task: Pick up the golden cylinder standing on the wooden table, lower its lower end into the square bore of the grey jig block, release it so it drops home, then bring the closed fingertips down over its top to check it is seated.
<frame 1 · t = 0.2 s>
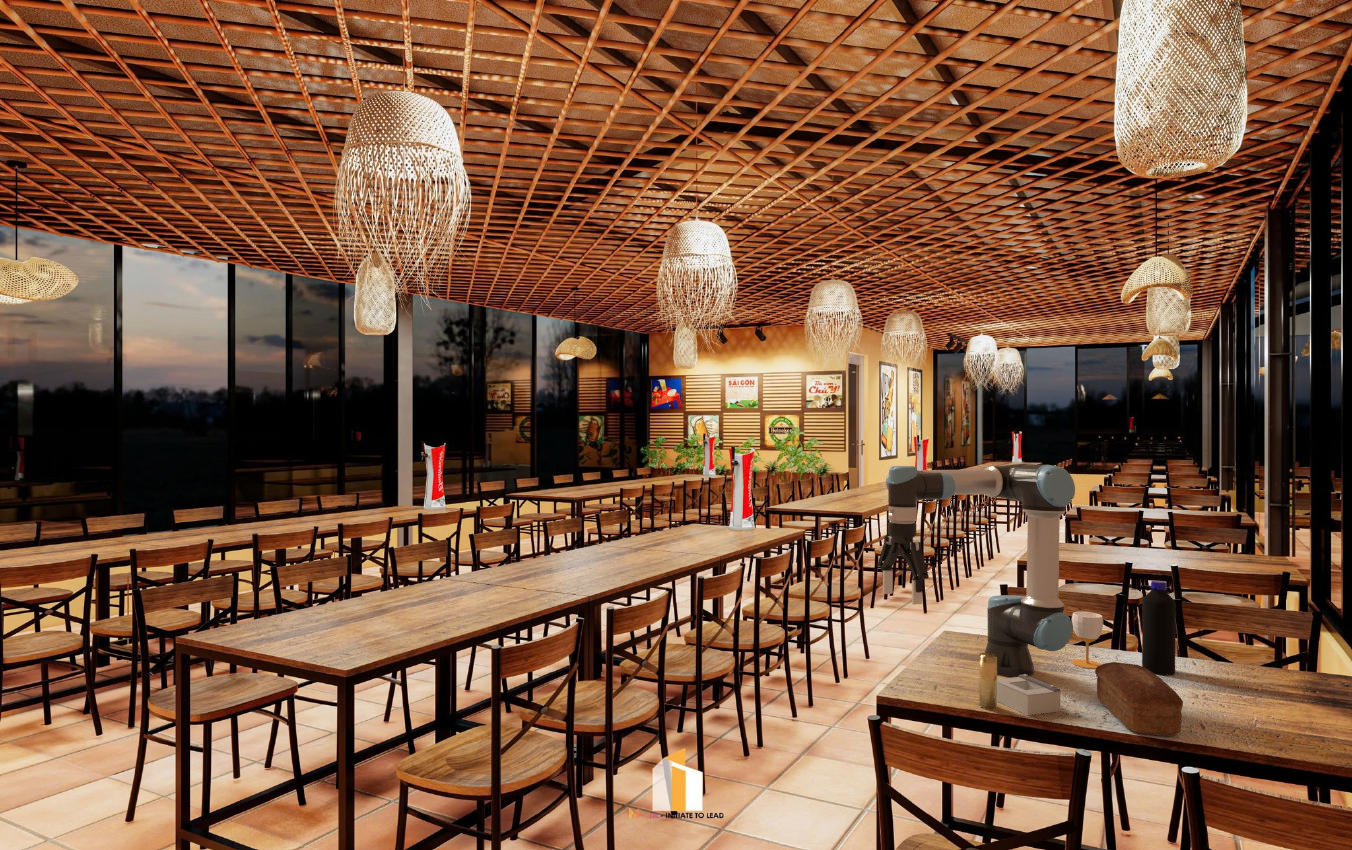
hand: (901, 598, 213), 28 cm above the table, fingers open, 13 cm apart
cup: (1087, 665, 248), on the table
golden cylinder: (987, 707, 209), on the table
bottle: (1158, 671, 242), on the table
bread: (1136, 719, 202), on the table
jig: (1026, 705, 210), on the table
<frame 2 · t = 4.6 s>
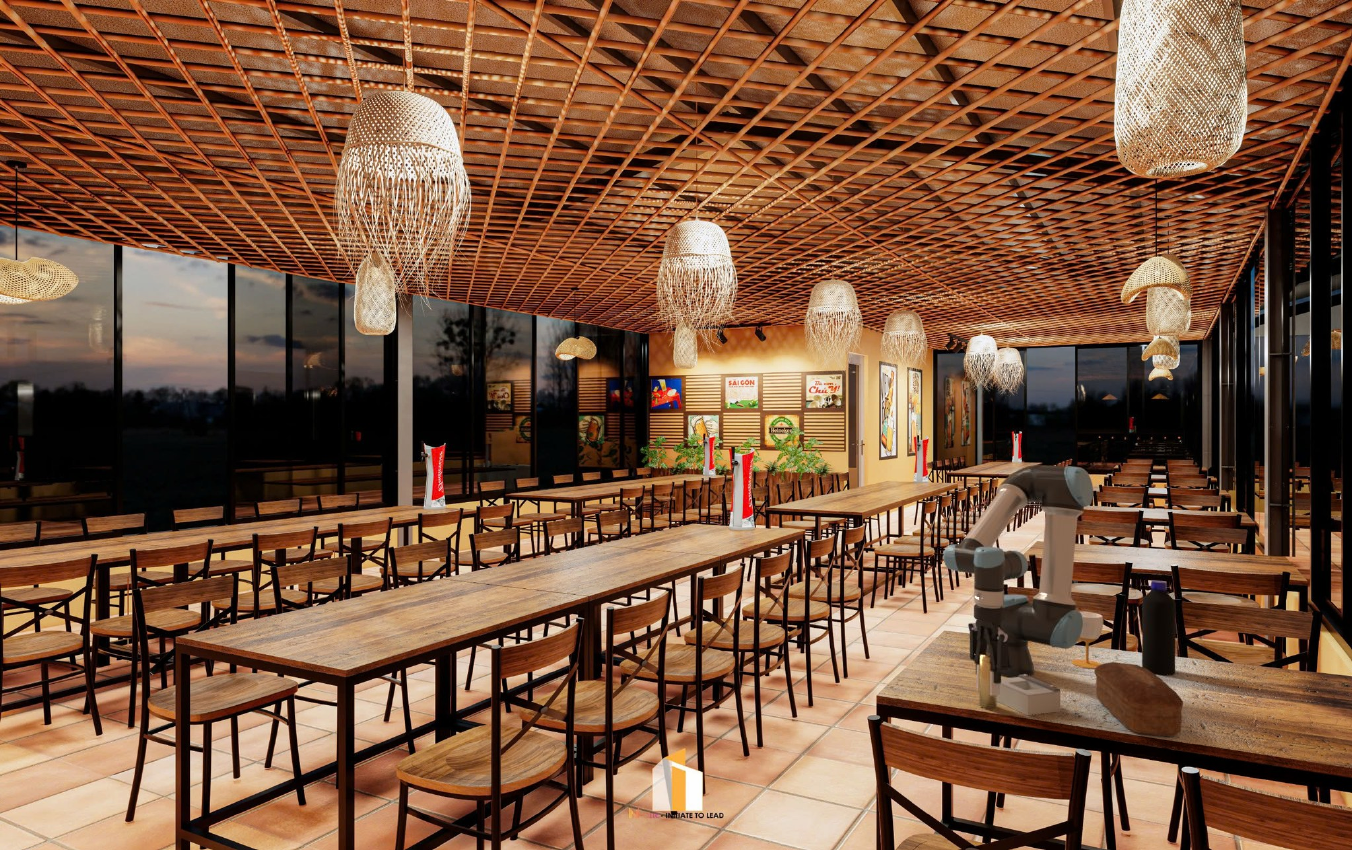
hand: (988, 691, 209), 4 cm above the table, fingers closed on golden cylinder, 4 cm apart
golden cylinder: (987, 707, 209), on the table, touching gripper
everything else where it was.
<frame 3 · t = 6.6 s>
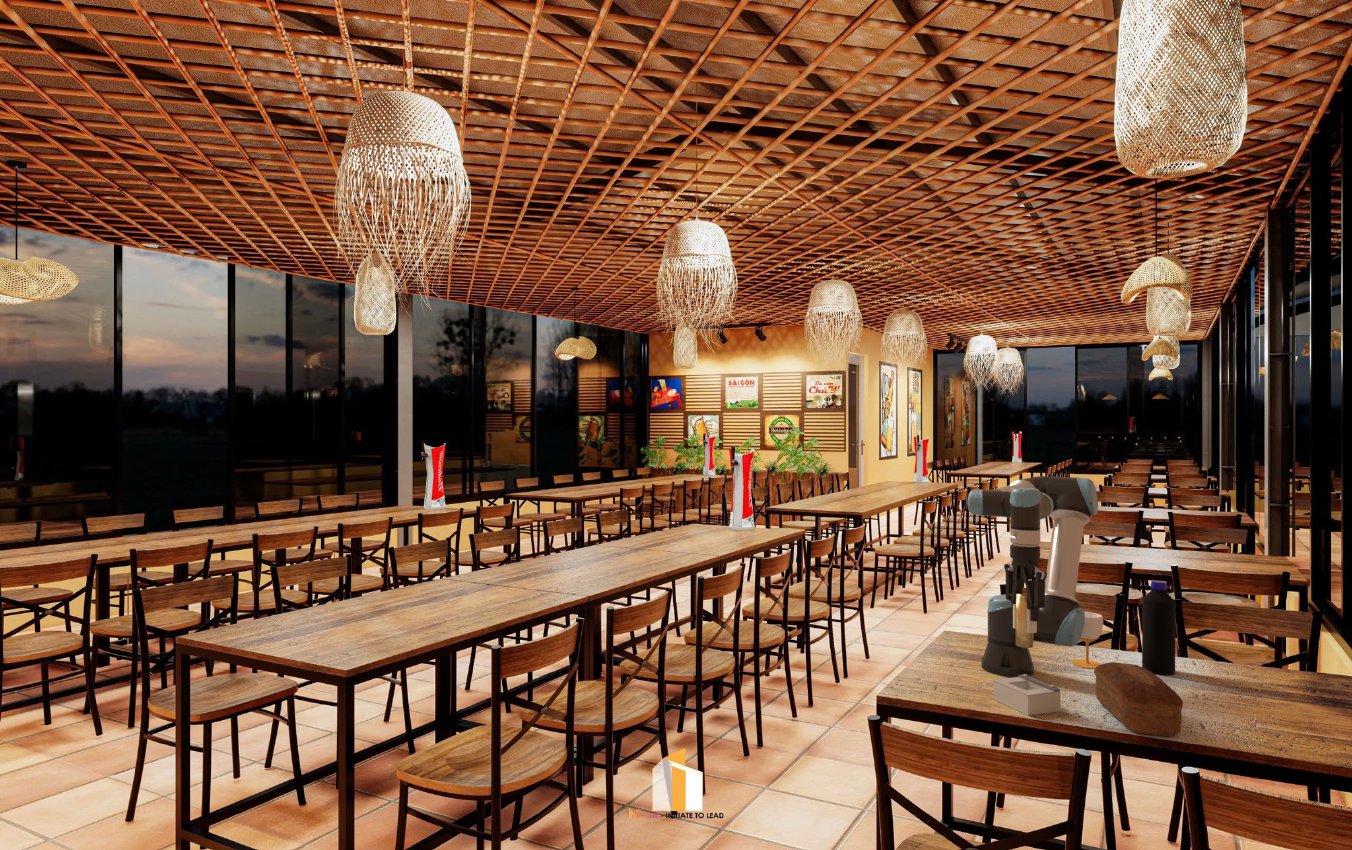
hand: (1024, 630, 211), 20 cm above the table, fingers closed on golden cylinder, 4 cm apart
golden cylinder: (1024, 645, 211), point 16 cm above the table, touching gripper
everything else where it was.
when the fingers open (7 cm above the table, at t = 8.9 s): golden cylinder drops 2 cm, resting in jig.
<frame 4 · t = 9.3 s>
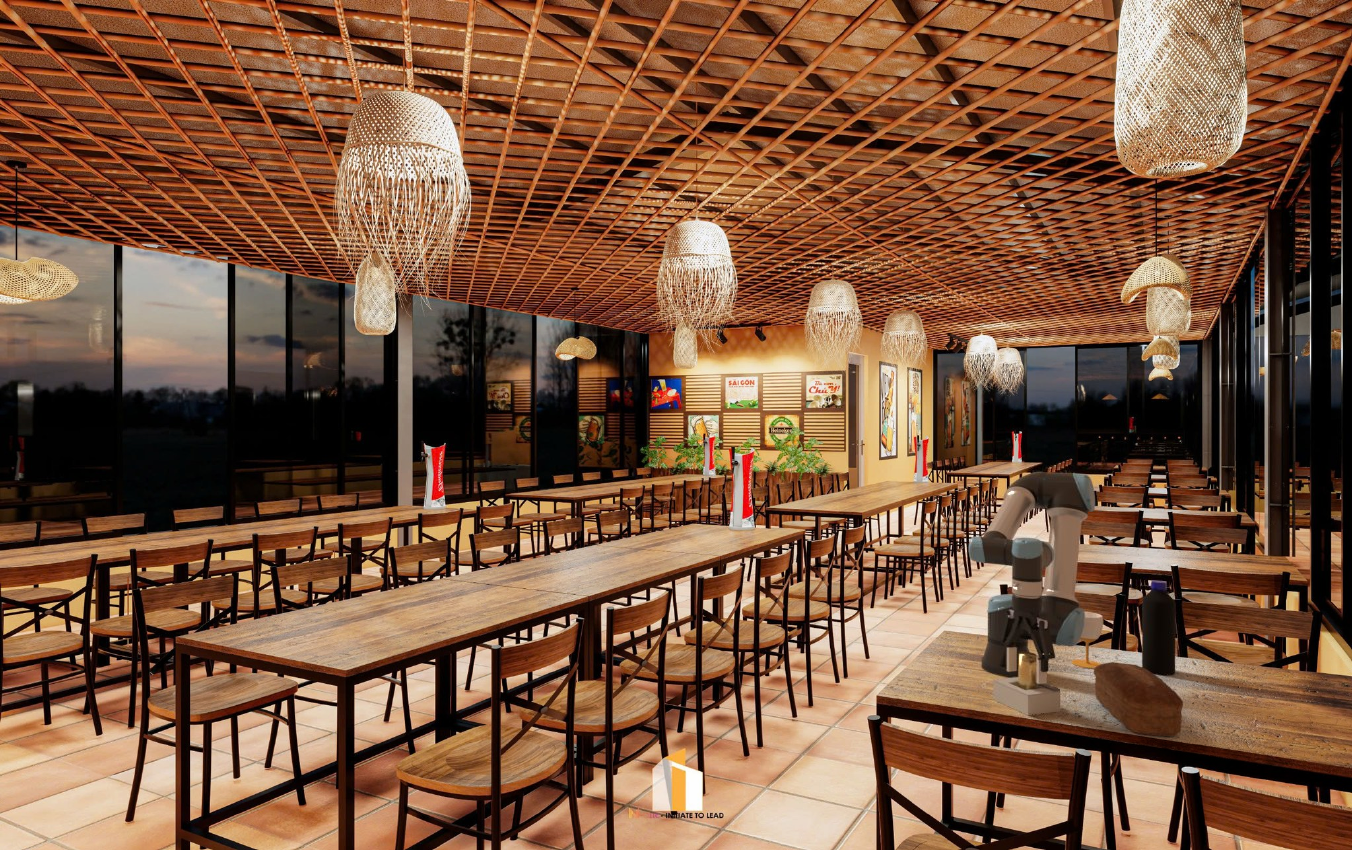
hand: (1026, 677, 210), 8 cm above the table, fingers open, 10 cm apart
golden cylinder: (1026, 705, 210), resting in jig
everything else where it was.
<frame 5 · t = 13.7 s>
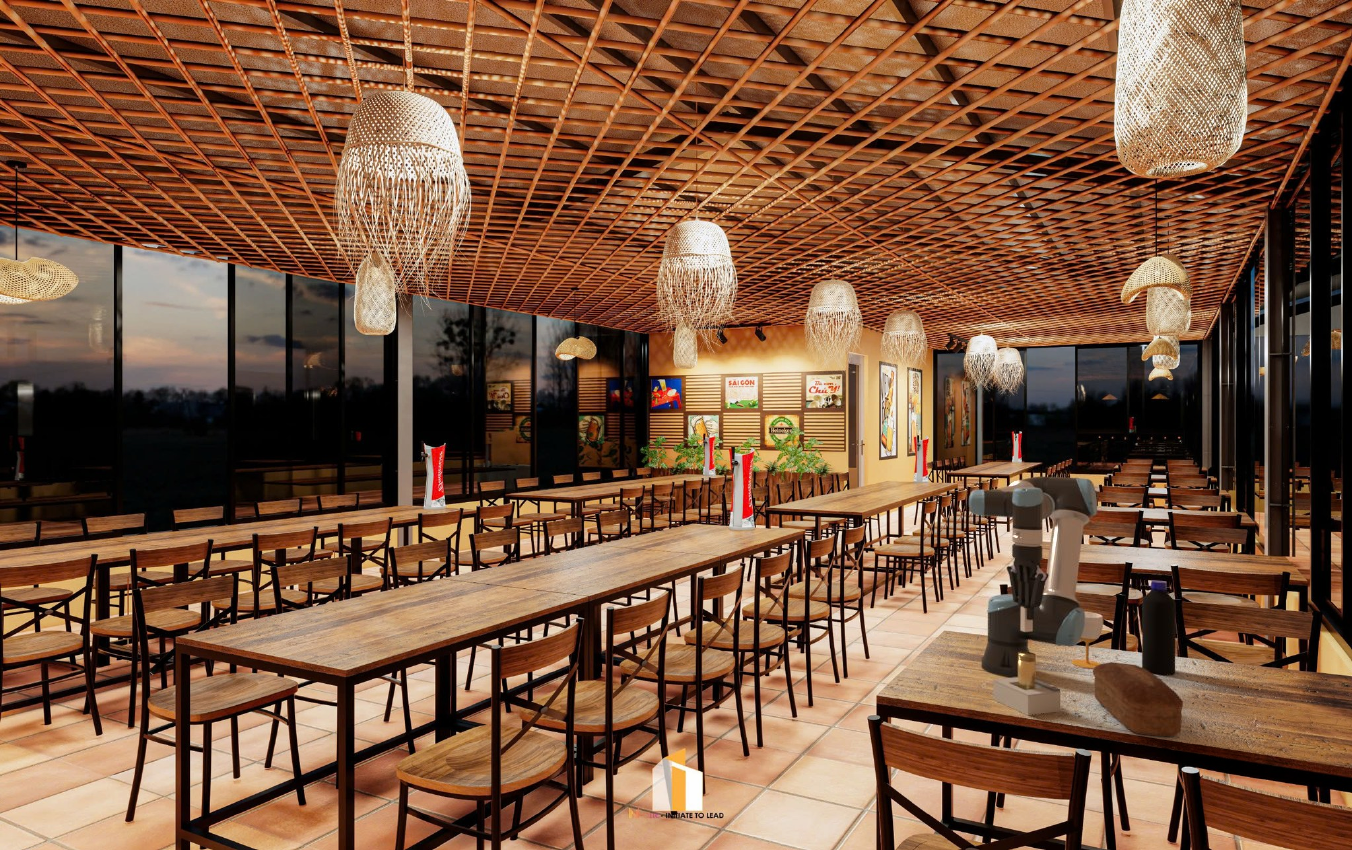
hand: (1026, 630, 210), 20 cm above the table, fingers closed
nothing on the table moved.
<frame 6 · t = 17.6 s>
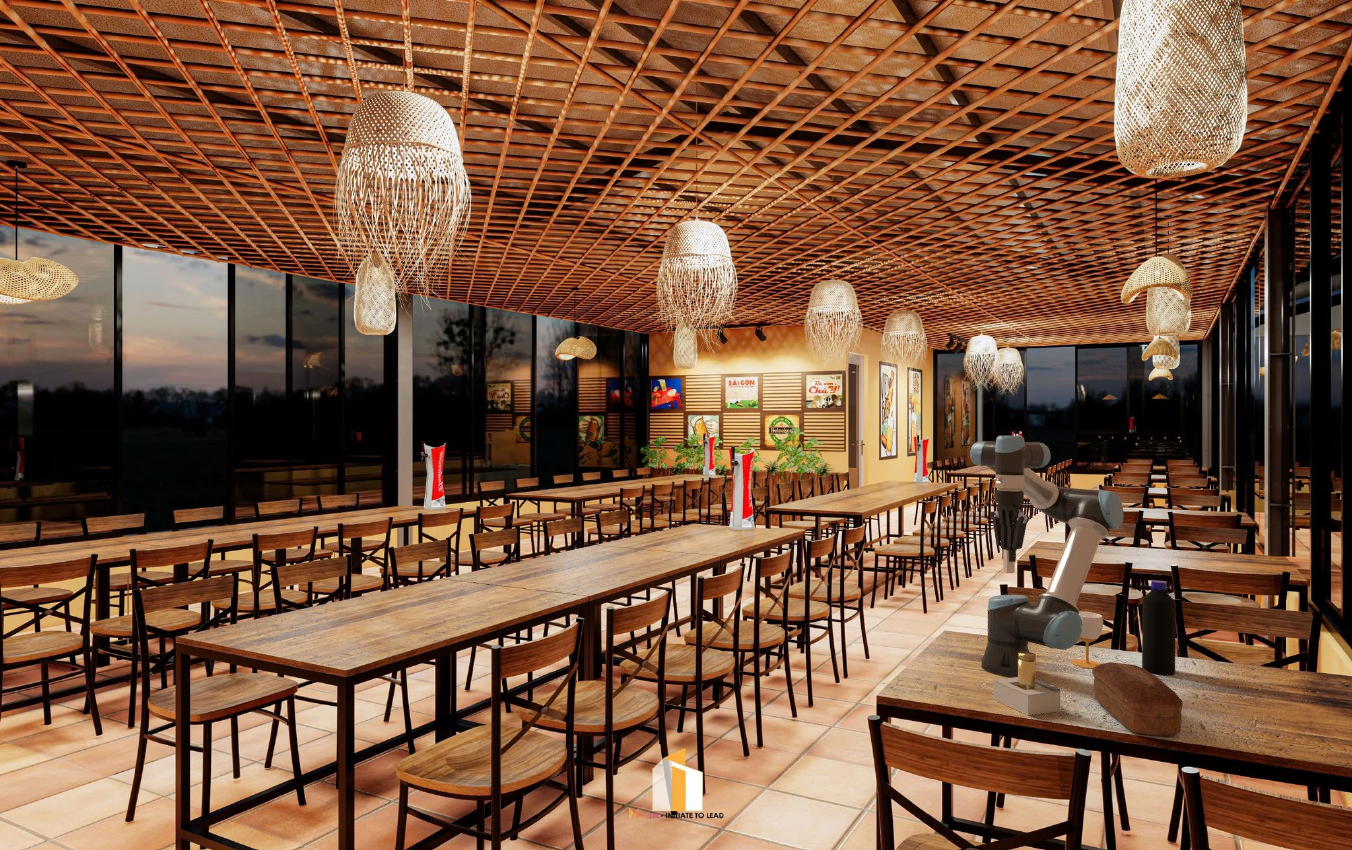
hand: (1008, 572, 220), 34 cm above the table, fingers closed
nothing on the table moved.
at the end: golden cylinder 0.2 cm off-centre on the jig, point 0.0 cm above the jig's base; golden cylinder tilted 1°; the gripper is holding nothing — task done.
